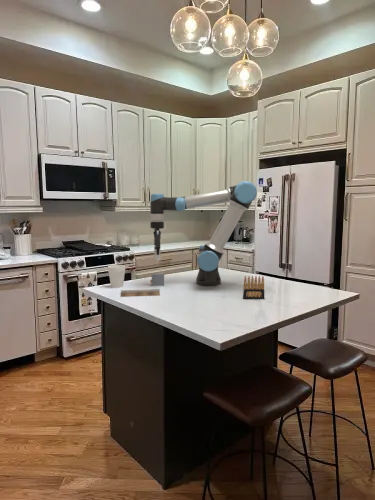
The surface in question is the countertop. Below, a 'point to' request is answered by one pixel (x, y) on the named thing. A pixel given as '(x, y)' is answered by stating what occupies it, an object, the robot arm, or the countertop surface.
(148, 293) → the board
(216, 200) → the robot arm
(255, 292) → the ammunition clip
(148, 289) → the brown wooden bar
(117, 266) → the foam cup
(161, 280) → the module
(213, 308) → the countertop surface
